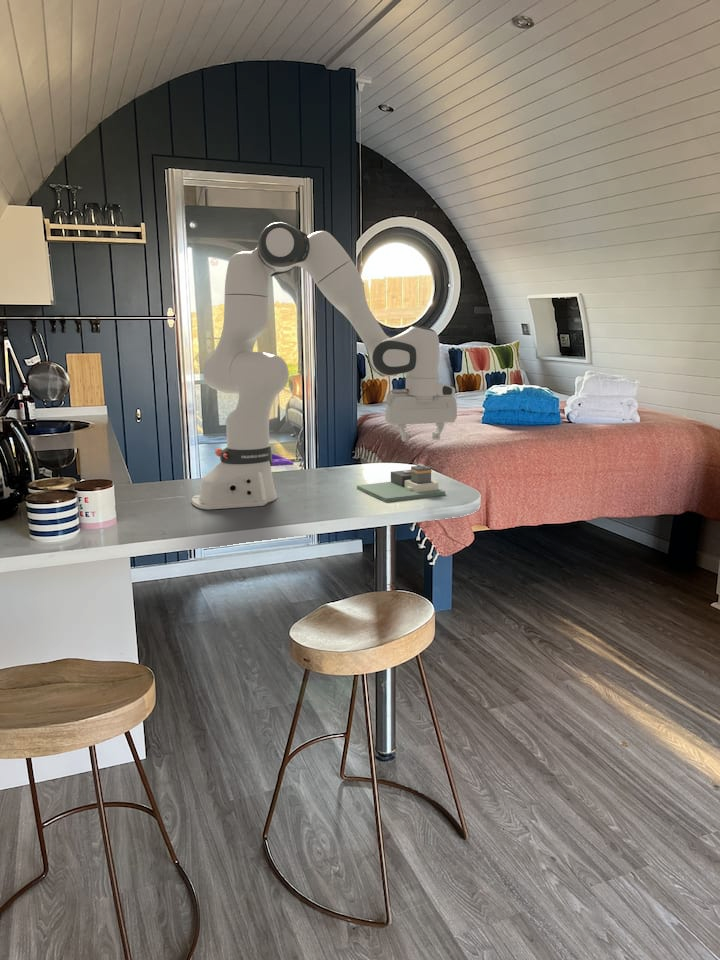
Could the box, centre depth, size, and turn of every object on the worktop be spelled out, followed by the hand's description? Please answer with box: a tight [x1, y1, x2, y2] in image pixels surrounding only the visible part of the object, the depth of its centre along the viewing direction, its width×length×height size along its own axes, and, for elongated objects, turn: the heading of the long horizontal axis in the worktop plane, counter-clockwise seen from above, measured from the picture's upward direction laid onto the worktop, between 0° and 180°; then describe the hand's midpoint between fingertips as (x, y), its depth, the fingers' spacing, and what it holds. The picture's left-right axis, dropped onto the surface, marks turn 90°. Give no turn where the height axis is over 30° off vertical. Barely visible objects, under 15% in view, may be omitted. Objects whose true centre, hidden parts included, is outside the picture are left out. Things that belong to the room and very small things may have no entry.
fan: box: [390, 469, 411, 487], centre depth 211 cm, size 7×7×3 cm
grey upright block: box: [410, 463, 432, 484], centre depth 204 cm, size 4×4×7 cm
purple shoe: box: [271, 453, 294, 467], centre depth 245 cm, size 12×7×7 cm, turn 106°
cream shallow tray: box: [405, 479, 439, 492], centre depth 204 cm, size 8×7×2 cm
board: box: [356, 481, 446, 503], centre depth 205 cm, size 18×18×1 cm
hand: (420, 440), depth 201 cm, fingers open, 8 cm apart
